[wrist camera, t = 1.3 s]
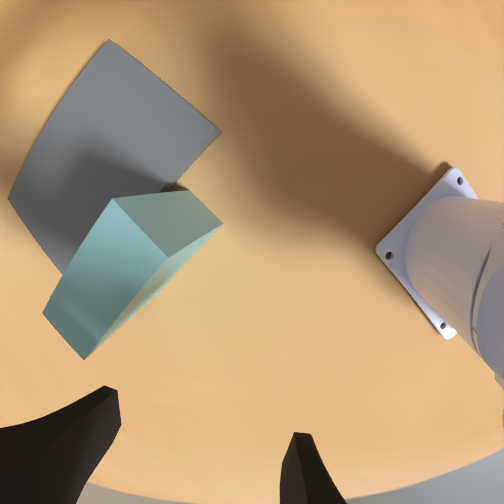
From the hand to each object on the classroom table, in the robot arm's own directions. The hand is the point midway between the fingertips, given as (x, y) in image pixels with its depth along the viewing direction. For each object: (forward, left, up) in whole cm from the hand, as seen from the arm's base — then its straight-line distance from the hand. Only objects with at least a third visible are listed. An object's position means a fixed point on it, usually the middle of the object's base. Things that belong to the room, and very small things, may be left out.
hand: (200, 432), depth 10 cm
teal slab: (+7, 0, -11) cm, 12 cm away
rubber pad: (+15, 0, -10) cm, 18 cm away
